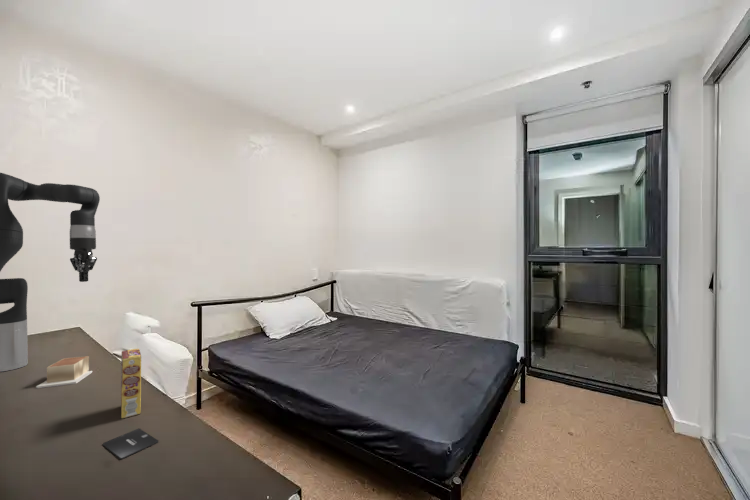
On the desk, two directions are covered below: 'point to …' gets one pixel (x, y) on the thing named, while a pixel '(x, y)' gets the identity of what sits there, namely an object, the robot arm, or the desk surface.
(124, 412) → the candy box
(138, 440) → the solid state drive
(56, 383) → the mat
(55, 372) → the maple block
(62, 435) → the desk surface
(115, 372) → the desk surface
